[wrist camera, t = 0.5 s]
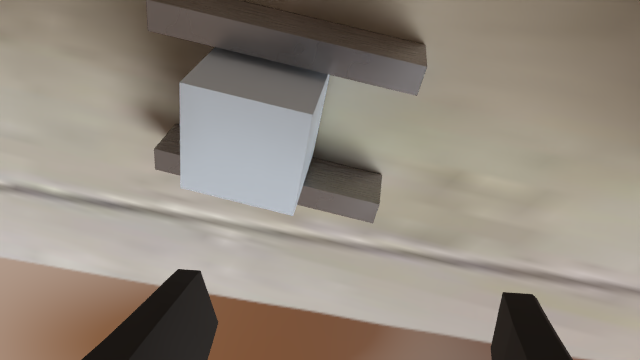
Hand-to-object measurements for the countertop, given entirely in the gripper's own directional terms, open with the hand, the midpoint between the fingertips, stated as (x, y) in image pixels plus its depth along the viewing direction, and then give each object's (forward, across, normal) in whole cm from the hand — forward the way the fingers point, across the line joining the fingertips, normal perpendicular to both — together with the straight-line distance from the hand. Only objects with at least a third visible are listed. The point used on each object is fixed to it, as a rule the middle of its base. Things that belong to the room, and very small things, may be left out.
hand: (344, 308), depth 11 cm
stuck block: (+9, +4, -2) cm, 10 cm away
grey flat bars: (+9, +4, -2) cm, 10 cm away
